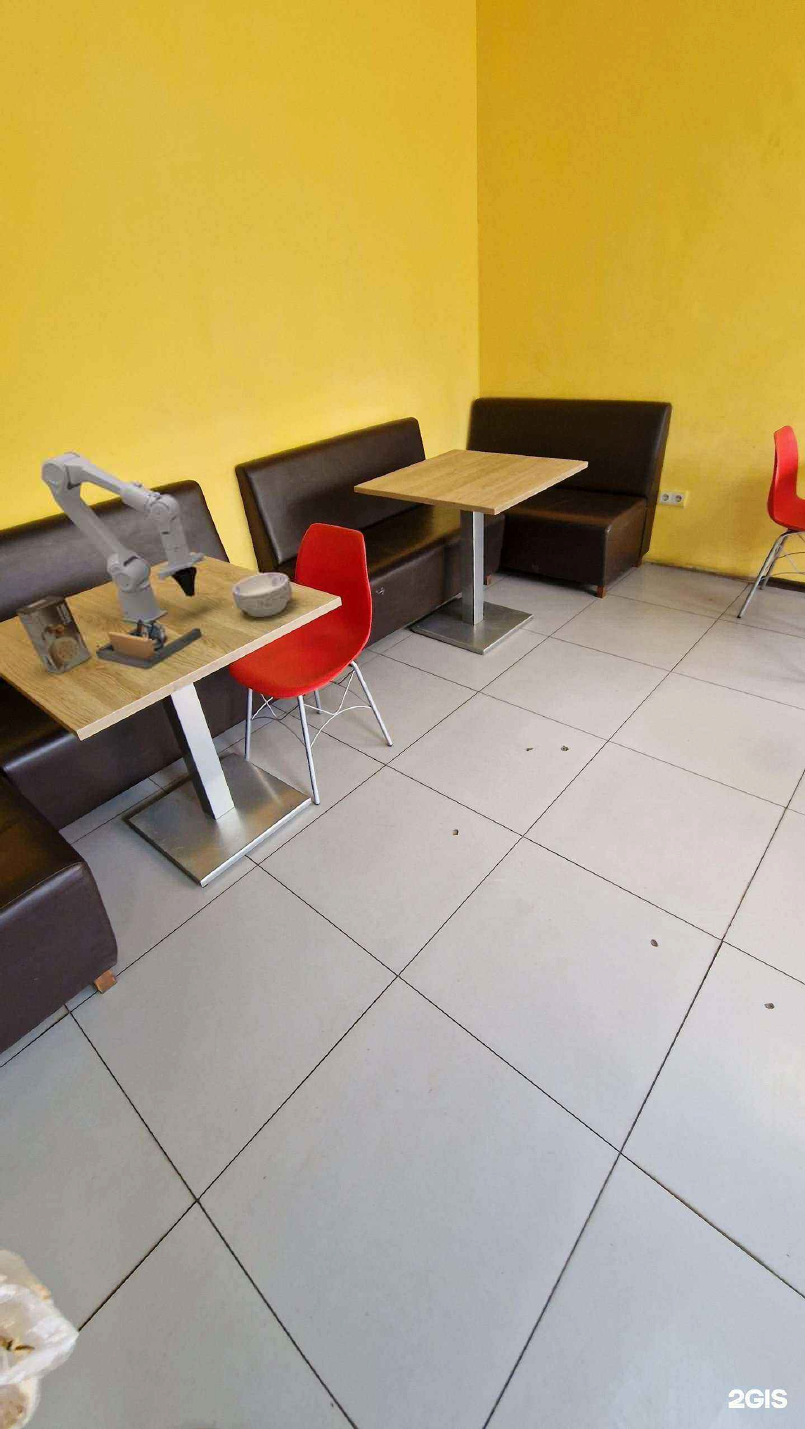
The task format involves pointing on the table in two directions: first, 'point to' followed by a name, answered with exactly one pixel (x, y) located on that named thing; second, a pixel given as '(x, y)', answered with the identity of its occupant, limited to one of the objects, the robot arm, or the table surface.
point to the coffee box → (54, 634)
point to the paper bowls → (262, 594)
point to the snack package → (151, 633)
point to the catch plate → (131, 644)
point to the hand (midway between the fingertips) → (190, 595)
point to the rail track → (153, 659)
